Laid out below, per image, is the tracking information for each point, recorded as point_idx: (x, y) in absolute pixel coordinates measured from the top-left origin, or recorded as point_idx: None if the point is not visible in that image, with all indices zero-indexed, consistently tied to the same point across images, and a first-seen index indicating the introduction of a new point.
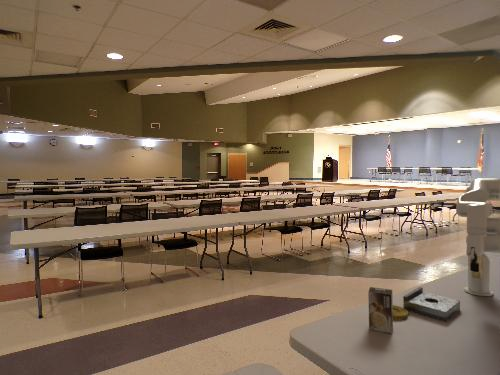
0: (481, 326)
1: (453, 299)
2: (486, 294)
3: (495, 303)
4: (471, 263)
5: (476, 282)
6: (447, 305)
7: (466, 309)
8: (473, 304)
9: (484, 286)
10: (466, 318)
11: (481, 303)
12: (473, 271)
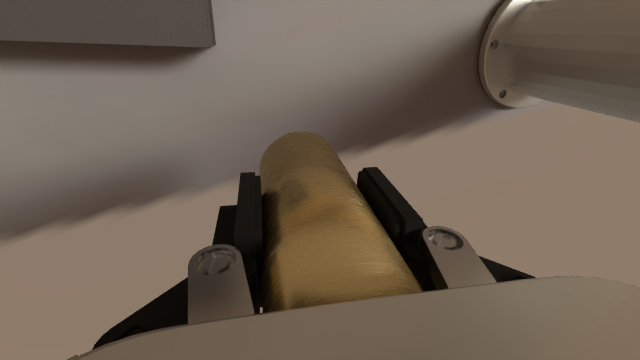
0: (103, 170)
1: (194, 7)
2: (490, 92)
3: (416, 138)
4: (236, 236)
5: (545, 51)
6: (37, 8)
7: (253, 67)
8: (347, 73)
9: (530, 87)
10: (133, 100)
11: (383, 97)
12: (261, 189)
